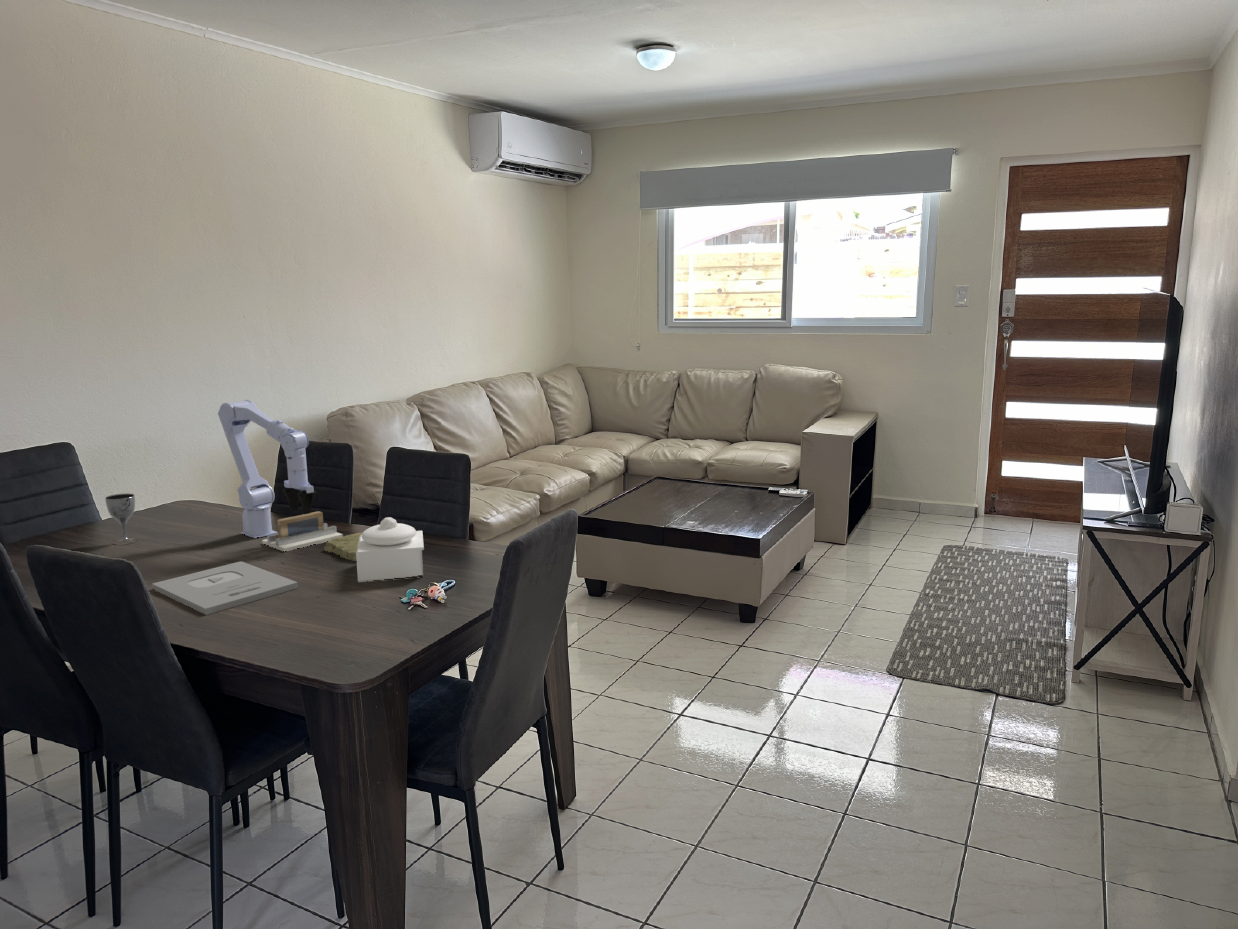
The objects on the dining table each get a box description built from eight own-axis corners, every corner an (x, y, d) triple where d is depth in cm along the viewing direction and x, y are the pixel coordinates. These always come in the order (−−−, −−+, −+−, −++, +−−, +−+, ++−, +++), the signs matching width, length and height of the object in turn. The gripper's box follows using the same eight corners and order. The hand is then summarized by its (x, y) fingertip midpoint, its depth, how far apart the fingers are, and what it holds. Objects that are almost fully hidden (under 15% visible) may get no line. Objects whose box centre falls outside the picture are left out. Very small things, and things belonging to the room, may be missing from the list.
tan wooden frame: (279, 541, 265) (277, 519, 263) (319, 532, 275) (318, 511, 274) (283, 542, 263) (281, 521, 262) (324, 533, 274) (322, 512, 272)
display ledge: (262, 543, 267) (261, 534, 266) (319, 530, 281) (319, 521, 281) (284, 552, 258) (283, 542, 257) (343, 537, 273) (342, 528, 272)
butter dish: (360, 563, 247) (357, 511, 243) (423, 559, 251) (421, 507, 248) (357, 583, 230) (353, 527, 227) (425, 577, 234) (422, 522, 231)
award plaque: (206, 616, 207) (205, 608, 206) (152, 591, 225) (151, 583, 225) (298, 589, 226) (297, 582, 225) (241, 568, 244) (241, 561, 244)
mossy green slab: (370, 539, 273) (369, 528, 272) (410, 550, 261) (409, 539, 260) (319, 553, 258) (318, 541, 258) (358, 565, 246) (358, 553, 246)
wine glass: (141, 542, 268) (135, 497, 265) (112, 547, 264) (106, 500, 261) (138, 537, 275) (133, 492, 272) (110, 541, 270) (104, 495, 267)
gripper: (273, 468, 267) (277, 510, 269) (297, 474, 257) (300, 517, 260) (294, 465, 272) (297, 506, 275) (318, 471, 263) (321, 513, 265)
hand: (300, 511), depth 268 cm, fingers open, 7 cm apart
